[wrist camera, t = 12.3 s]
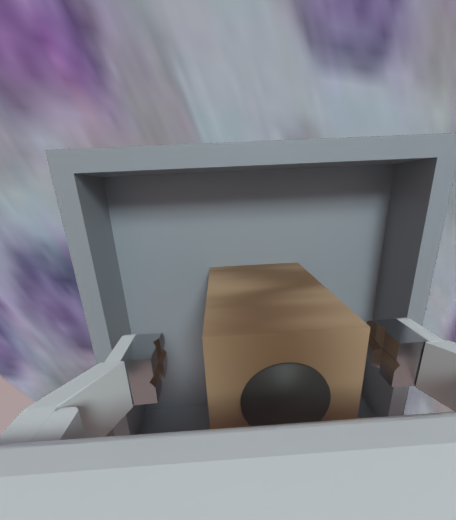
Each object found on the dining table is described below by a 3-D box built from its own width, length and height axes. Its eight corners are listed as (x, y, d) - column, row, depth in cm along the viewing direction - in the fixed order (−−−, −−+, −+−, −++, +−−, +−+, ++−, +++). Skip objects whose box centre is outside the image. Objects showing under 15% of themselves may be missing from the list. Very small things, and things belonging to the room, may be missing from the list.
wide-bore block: (297, 262, 12) (372, 329, 6) (294, 338, 13) (354, 453, 7) (209, 267, 12) (202, 340, 6) (215, 343, 13) (212, 464, 7)
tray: (401, 147, 11) (463, 132, 9) (365, 393, 16) (398, 438, 13) (90, 160, 11) (44, 149, 8) (138, 409, 15) (119, 459, 12)
